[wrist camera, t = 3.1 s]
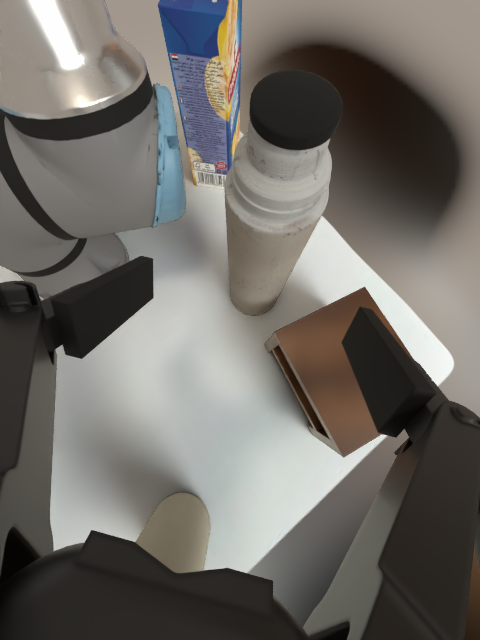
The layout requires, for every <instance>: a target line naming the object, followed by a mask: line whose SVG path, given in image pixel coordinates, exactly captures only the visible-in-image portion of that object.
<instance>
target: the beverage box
mask: <svg viewBox="0 0 480 640" xmlns="http://www.w3.org/2000/svg"><path fill="white" fill-rule="evenodd" d="M158 8H159V12H160V17H161V22H162V27H163V31H164V37H165V42H166V47H167V51H168V56H169V61H170V66H171V71H172V75H173V81H174V86H175V90H176V95H177V100H178V105H179V109H180V115H181V120H182V125H183V129H184V134H185V139H186V144H187V149H188V154H189V159H190V164H191V168H192V173H193V178H194V183H195V185H197V186H203V187H209V188H216V189H222V190H224V185H225V180H226V176H227V173H228V171H229V169H230V167H231V166H232V161H233V158H234V152H235V148H236V146H237V144H238V142H239V123H240V122H239V121H240V119H239V118H240V70H241V21H242V0H160V1H159V3H158Z"/></svg>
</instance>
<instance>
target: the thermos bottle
mask: <svg viewBox="0 0 480 640" xmlns="http://www.w3.org/2000/svg"><path fill="white" fill-rule="evenodd" d="M342 113H343V103H342V99H341V97H340V95H339V93H338V91H337V90H336V88H335V87H334V86H333V85H332V84H331V83H330V82H328V81H327V80H325V79H324V78H322V77H321V76H318V75H316V74H314V73H310V72H306V71H301V70H284V71H279V72H276V73H272V74H270V75H268V76H266V77H265V78H263V79H262V80H261V81H260V82H258V84H257V85H256V86H255V87H254V89H253V92H252V94H251V99H250V121H249V126H248V132H247V133H246V134H245V135H244V136H243V137H242V138H241V140H240V141H239V142H238V144H237V146H236V148H235V152H234V158H233V161H232V166H231V167H230V169H229V171H228V173H227V176H226V180H225V185H224V190H225V207H226V224H227V244H228V262H229V280H230V296H231V300H232V302H233V304H234V306H235V307H236V308H237V309H238V310H239V311H241V312H243V313H245V314H248V315H260V314H263V313H266V312H267V311H269V310H270V309H271V308H272V307H273V305H274V304H275V302H276V300H277V298H278V296H279V294H280V292H281V291H282V289H283V286H284V284H285V282H286V281H287V279H288V277H289V275H290V274H291V272H292V270H293V268H294V266H295V264H296V262H297V261H298V259H299V257H300V255H301V253H302V251H303V249H304V247H305V246H306V244H307V242H308V240H309V238H310V236H311V234H312V232H313V230H314V229H315V227H316V225H317V223H318V221H319V219H320V217H321V215H322V214H323V212H324V210H325V208H326V205H327V201H328V194H329V188H328V186H329V182H330V178H331V170H332V160H331V155H330V152H329V150H328V148H327V146H328V144H329V140H330V138H331V137H332V135H333V134H334V132H335V131H336V129H337V126H338V124H339V122H340V119H341V116H342Z"/></svg>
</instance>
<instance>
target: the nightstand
mask: <svg viewBox="0 0 480 640" xmlns="http://www.w3.org/2000/svg"><path fill="white" fill-rule="evenodd" d="M359 307H365V308H369V309H372V310H373V311H374V312H375V313H376V315H377V316H378V317H379V319H380V320H381V321H382V322H383V324H384V325H385V326H386V328H387V329H388V330H389V331H390V333H391V334H392V335H393V337H394V338H395V339H396V341H397V342H398V343H399V344H400V346H401V347H402V348H403V350H404V351H405V352H406V353H407V355H408V356H409V357H411V358H412V356H411V355H410V353H409V352H408V350H407V349H406V347H405V346H404V344H403V343H402V341H401V340H400V338H399V337H398V335H397V334H396V332H395V331H394V329H393V328H392V327H391V325H390V324H389V322H388V321H387V319H386V318H385V316H384V315H383V313H382V312H381V310H380V309H379V307H378V306H377V304H376V303H375V301H374V300H373V298H372V297H371V295H370V294H369V292H368V291H367V289H366V288H365V287H363V288H361V289H359V290H357V291H355V292H353V293H351V294H349V295H347V296H345V297H343V298H341V299H339V300H337V301H335V302H333V303H331V304H329V305H327V306H325V307H323V308H321V309H319V310H317V311H315V312H313V313H311V314H309V315H307V316H305V317H303V318H301V319H299V320H297V321H295V322H293V323H291V324H289V325H287V326H285V327H283V328H281V329H279V330H277V331H275V332H274V333H273V335H272V336H271V337H270V338H269V339H268V341H267V342H266V343H265V346H266V348H267V350H268V352H270V351H272V352H273V354H274V355H275V357H276V359H277V361H278V363H279V365H280V367H281V369H282V370H283V372H284V374H285V376H286V378H287V380H288V382H289V384H290V385H291V387H292V389H293V391H294V393H295V395H296V397H297V399H298V400H299V402H300V404H301V406H302V408H303V410H304V412H305V414H306V415H307V417H308V419H309V421H310V424H308V425H307V426H308V428H309V429H310V431H311V433H312V435H313V436H315V437H316V438H318V439H319V440H320V441H322V442H323V443H325V444H326V445H327V446H329V447H330V448H331V449H333V450H334V451H336V452H337V453H338V454H340V455H341V456H342V457H345V456H347V455H349V454H350V453H352V452H354V451H355V450H357V449H358V448H360V447H362V446H363V445H365V444H367V443H368V442H370V441H372V440H373V439H375V438H376V437H378V436H380V435H381V434H380V433H378V432H377V429H376V427H375V424H374V422H373V420H372V417H371V415H370V412H369V410H368V407H367V405H366V402H365V400H364V397H363V395H362V392H361V390H360V387H359V385H358V382H357V380H356V377H355V375H354V372H353V370H352V367H351V365H350V363H349V360H348V358H347V355H346V353H345V350H344V348H343V345H342V343H341V342H342V340H343V338H344V336H345V334H346V332H347V330H348V328H349V326H350V324H351V322H352V320H353V319H354V317H355V315H356V313H357V311H358V309H359ZM412 359H413V358H412Z"/></svg>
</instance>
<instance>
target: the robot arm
mask: <svg viewBox="0 0 480 640" xmlns="http://www.w3.org/2000/svg"><path fill="white" fill-rule="evenodd" d="M178 144H179V141H178V135H177V126H176V119H175V113H174V107H173V102H172V97H171V93H170V91H169V90H168V89H167V87H165V86H160V85H159V84H158V83H156V84H153V86H152V85H151V81H150V78H149V74H148V71H147V67H146V63H145V60H144V58H143V56H142V54H141V53H140V52H139V51H138V50H137V49H136V48H135V47H134V46H133V45H132V44H130V43H129V42H128V41H127V40H126V39H125V38H124V37H123V36H122V35H121V34H119V32H117V31H116V29H115V27H114V25H113V23H112V21H111V18H110V15H109V12H108V9H107V6H106V3H105V0H0V265H1V266H3V267H5V268H7V269H9V270H11V271H13V272H15V273H17V274H18V275H19V276H20V277H21V278H22V279H23V280H24V281H10V282H3V283H0V640H464V633H465V624H466V615H467V606H468V597H469V588H470V579H471V570H472V561H473V552H474V545H475V551H476V556H477V560H478V566H479V571H480V418H479V417H478V416H477V415H476V414H475V413H473V412H472V411H470V410H469V409H467V408H466V407H464V406H462V405H460V404H458V403H455V402H452V401H449V400H448V399H447V398H446V396H445V395H444V394H443V393H442V391H441V390H440V389H439V388H438V386H437V385H436V384H435V383H434V381H431V380H432V379H431V378H430V376H429V375H428V374H426V372H425V370H424V369H423V368H422V367H421V365H420V364H419V363H417V362H416V361H415V360H414V359H412V358H411V357H409V356H408V355H407V353H406V352H405V351H404V350H403V348H402V347H401V346H400V344H399V343H398V342H397V341H396V339H395V338H394V337H393V335H392V334H391V333H390V331H389V330H388V329H387V328H386V326H385V325H384V324H383V322H382V321H381V320H380V319H379V317H378V316H377V315H376V313H375V312H374V311H373V310H372V309H369V308H365V307H359V309H358V311H357V313H356V315H355V317H354V319H353V320H352V322H351V324H350V326H349V328H348V330H347V332H346V334H345V336H344V338H343V340H342V342H341V343H342V345H343V348H344V350H345V353H346V355H347V358H348V360H349V363H350V365H351V367H352V370H353V372H354V375H355V377H356V380H357V382H358V385H359V387H360V390H361V392H362V395H363V397H364V400H365V402H366V405H367V407H368V410H369V412H370V415H371V417H372V420H373V422H374V424H375V427H376V429H377V432H378V433H380V434H384V435H388V436H392V437H397V436H398V435H399V434H400V433H401V432H402V430H403V429H404V428H405V430H406V432H407V434H408V436H409V438H408V439H407V440H406V441H405V442H404V443H403V444H402V445H401V446H400V448H398V449H397V450H396V451H395V454H396V455H397V457H396V459H395V461H394V463H393V465H392V467H391V469H390V471H389V473H388V475H387V477H386V479H385V481H384V482H383V484H382V486H381V488H380V490H379V492H378V494H377V496H376V498H375V500H374V502H373V504H372V506H371V508H370V510H369V512H368V514H367V516H366V518H365V520H364V521H363V523H362V525H361V527H360V529H359V531H358V533H357V535H356V537H355V539H354V541H353V543H352V545H351V547H350V549H349V551H348V553H347V555H346V557H345V559H344V561H343V562H342V564H341V566H340V568H339V570H338V572H337V574H336V576H335V578H334V580H333V582H332V584H331V586H330V588H329V590H328V591H327V593H326V595H325V596H324V598H323V599H322V601H321V602H320V603H319V604H318V606H317V607H316V608H315V609H314V611H313V612H312V614H311V615H310V617H309V618H308V620H307V622H306V624H305V625H304V627H302V626H301V624H300V623H299V622H298V620H297V619H296V618H295V617H294V615H293V614H292V613H291V612H290V611H289V609H288V608H287V607H286V606H284V604H283V603H281V602H280V601H279V600H278V599H277V598H276V597H274V596H273V581H272V580H268V579H264V578H261V577H257V576H254V575H250V574H247V573H243V572H240V571H236V570H233V569H229V568H224V569H215V570H205V571H196V572H187V573H176V572H173V571H172V570H170V569H169V568H168V567H167V566H165V565H164V564H163V563H161V562H160V561H159V560H157V559H156V558H155V557H154V556H152V555H151V554H150V553H148V552H147V551H146V550H144V549H143V548H142V547H141V546H139V545H138V544H137V543H135V542H132V541H129V540H125V539H122V538H118V537H115V536H111V535H107V534H104V533H100V532H97V531H93V530H91V532H90V534H89V536H88V538H87V539H86V541H85V543H79V544H75V545H71V546H67V547H64V548H61V549H59V550H56V551H53V536H52V531H51V525H50V496H51V475H52V454H53V433H54V411H55V390H56V369H57V354H56V350H55V349H56V348H58V347H59V346H60V345H62V344H63V347H64V351H65V354H66V355H69V356H73V357H77V358H81V359H82V358H83V357H85V356H86V355H87V354H88V353H89V352H90V351H92V350H93V349H94V348H95V347H96V346H97V345H99V344H100V343H101V342H102V341H103V340H104V339H106V338H107V337H108V336H109V335H110V334H112V333H113V332H114V331H115V330H116V329H117V328H119V327H120V326H121V325H122V324H123V323H124V322H126V321H127V320H128V319H129V318H130V317H131V316H133V315H134V314H135V313H136V312H137V311H138V310H140V309H141V308H142V307H143V306H144V305H145V304H147V303H148V302H149V301H150V300H151V299H152V298H153V259H152V258H148V257H144V256H140V257H138V258H136V259H134V260H132V261H130V262H129V256H128V253H127V250H126V248H125V246H124V244H123V243H122V242H121V241H120V239H119V238H118V237H117V236H116V235H115V234H114V233H116V232H122V231H128V230H134V229H140V228H145V227H152V228H153V227H156V226H157V225H158V224H162V223H166V222H171V221H175V220H177V219H179V218H181V216H182V215H183V214H184V212H185V209H186V196H185V185H184V176H183V169H182V161H181V154H180V148H179V145H178ZM39 296H41V297H42V298H43V299H45V300H42V301H40V297H39Z"/></svg>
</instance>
